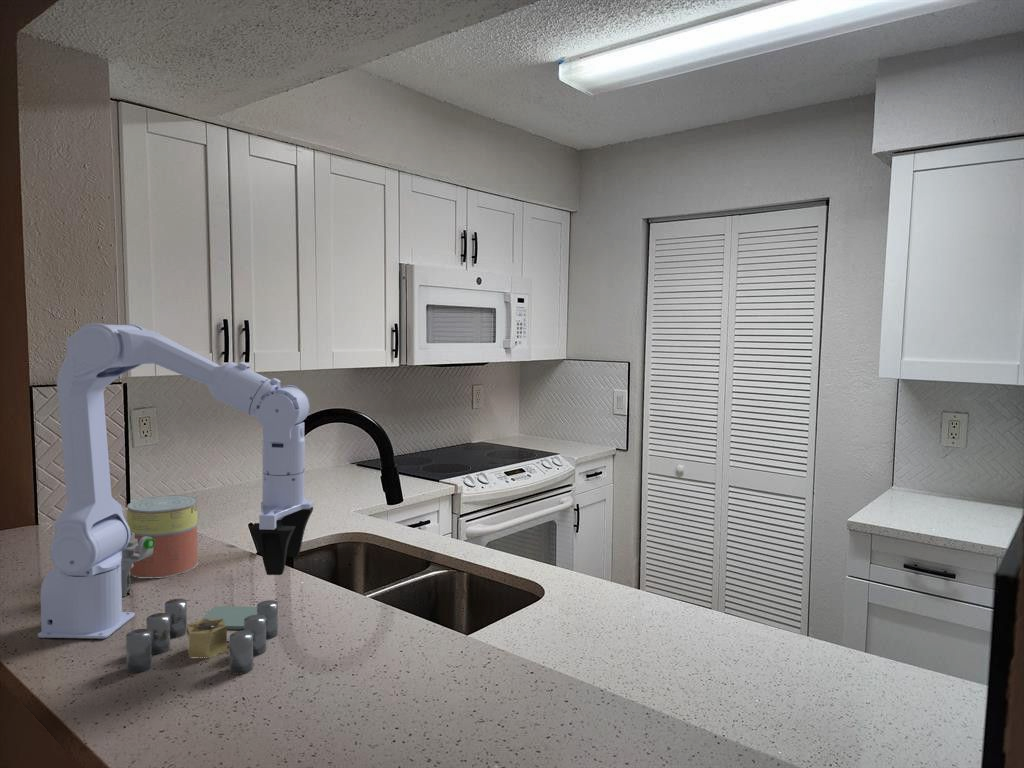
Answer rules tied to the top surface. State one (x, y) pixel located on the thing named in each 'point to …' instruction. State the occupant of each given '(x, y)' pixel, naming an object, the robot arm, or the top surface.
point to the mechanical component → (134, 558)
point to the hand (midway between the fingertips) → (283, 564)
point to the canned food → (165, 534)
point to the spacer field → (176, 624)
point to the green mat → (231, 615)
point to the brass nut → (206, 638)
